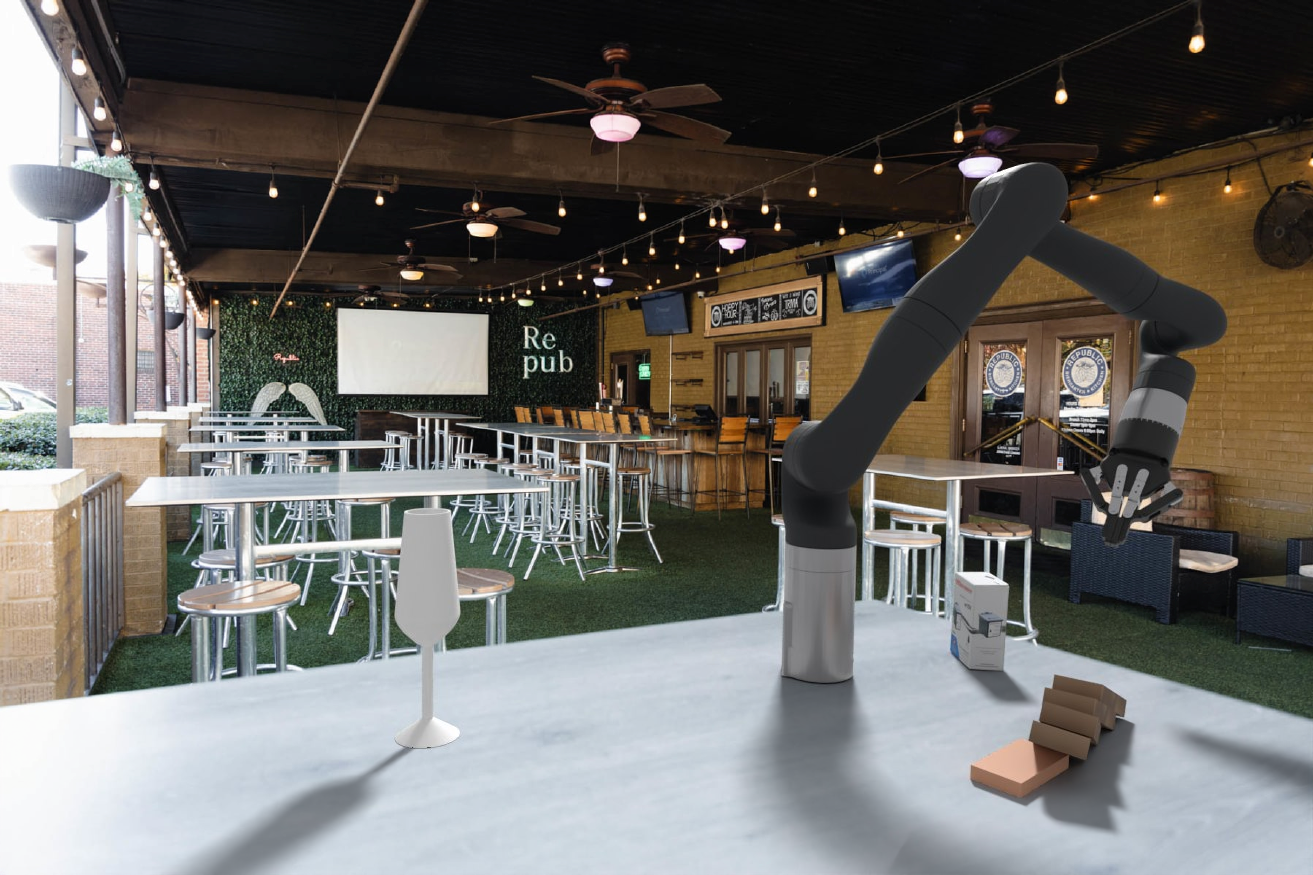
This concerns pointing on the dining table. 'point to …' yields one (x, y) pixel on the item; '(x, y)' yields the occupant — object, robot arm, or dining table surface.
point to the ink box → (979, 620)
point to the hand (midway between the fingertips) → (1111, 544)
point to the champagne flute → (427, 608)
